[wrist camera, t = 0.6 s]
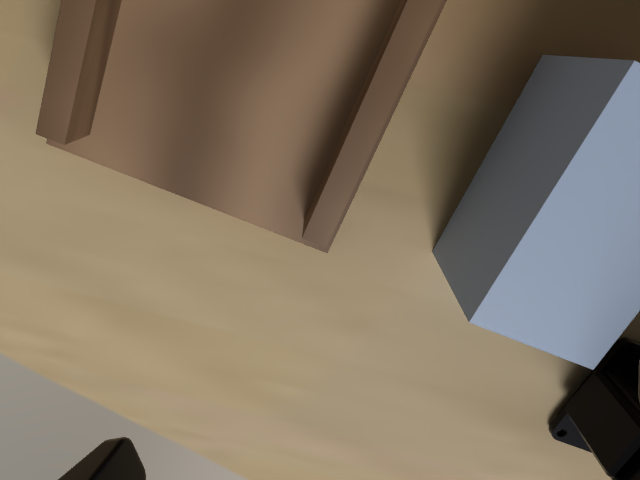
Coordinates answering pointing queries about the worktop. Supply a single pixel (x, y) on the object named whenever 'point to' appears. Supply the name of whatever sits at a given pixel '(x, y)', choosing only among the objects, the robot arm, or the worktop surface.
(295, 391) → the worktop surface
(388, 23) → the walnut rack
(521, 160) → the pale blue cuboid
